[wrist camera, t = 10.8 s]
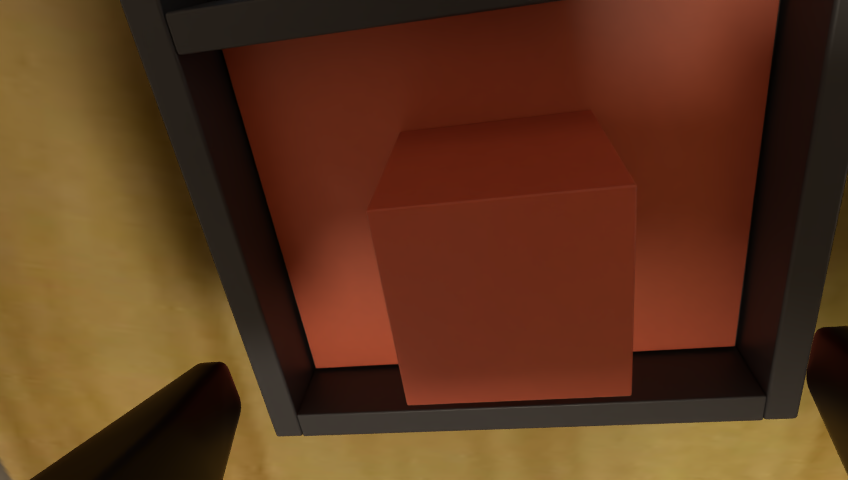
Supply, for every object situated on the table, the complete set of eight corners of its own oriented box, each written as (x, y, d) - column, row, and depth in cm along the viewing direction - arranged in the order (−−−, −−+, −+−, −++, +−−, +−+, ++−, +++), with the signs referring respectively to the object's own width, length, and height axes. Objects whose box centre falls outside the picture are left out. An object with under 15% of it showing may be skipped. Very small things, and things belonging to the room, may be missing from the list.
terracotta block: (591, 109, 13) (638, 185, 9) (594, 275, 15) (632, 396, 11) (399, 131, 13) (365, 210, 10) (426, 288, 15) (406, 406, 12)
